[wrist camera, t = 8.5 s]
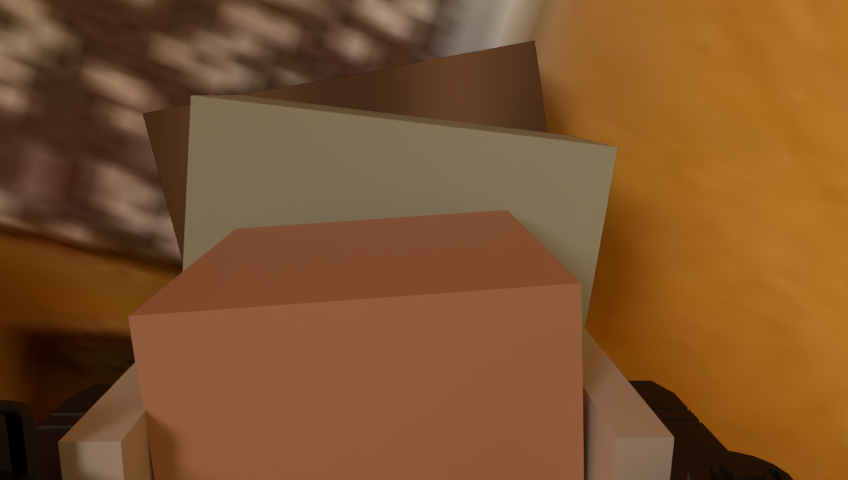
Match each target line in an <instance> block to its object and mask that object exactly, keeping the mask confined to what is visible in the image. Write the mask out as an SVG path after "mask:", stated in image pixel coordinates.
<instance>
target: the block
mask: <svg viewBox="0 0 848 480" xmlns="http://www.w3.org/2000/svg"><path fill="white" fill-rule="evenodd" d="M128 321H129V327H130V333H131V339H132V345H133V351H134V357H135V363H136V369H137V375H138V381H139V387H140V393H141V399H142V406H143V410H145V411H146V424H147V436H148V442H149V448H150V454H151V460H152V466H153V472H154V478H155V480H584V440H583V369H582V297H581V282H580V281H579V280H578V279H577V278H576V277H575V276H574V275H573V274H572V273H571V272H570V271H569V270H568V269H567V268H566V267H565V266H564V265H563V264H561V263H560V262H559V261H558V260H557V259H556V258H555V257H554V256H553V255H552V254H551V253H550V252H549V251H548V250H547V249H546V248H545V247H544V246H543V245H542V244H541V243H540V242H539V241H538V240H537V239H536V238H535V237H534V236H533V235H532V234H531V233H530V232H529V231H528V230H527V229H526V228H525V227H524V226H523V225H522V224H521V223H520V222H519V221H518V220H517V219H516V218H515V217H514V216H513V215H512V214H511V213H510V212H509V211H508V210H497V211H483V212H469V213H454V214H440V215H426V216H411V217H397V218H383V219H368V220H354V221H340V222H325V223H311V224H296V225H282V226H268V227H253V228H239V229H235V230H233V231H232V232H231V233H230V234H228V235H227V236H226V237H225V238H224V239H222V240H221V241H220V242H219V243H217V244H216V245H215V246H214V247H212V248H211V249H210V250H209V251H208V252H206V253H205V254H204V255H203V256H201V257H200V258H199V259H198V260H196V261H195V262H194V263H193V264H192V265H190V266H189V267H188V268H187V269H185V270H184V271H183V272H182V273H180V274H179V275H178V276H177V277H176V278H174V279H173V280H172V281H171V282H169V283H168V284H167V285H166V286H164V287H163V288H162V289H161V290H160V291H158V292H157V293H156V294H155V295H153V296H152V297H151V298H150V299H148V300H147V301H146V302H145V303H144V304H142V305H141V306H140V307H139V308H137V309H136V310H135V311H134V312H132V313H131V314H130V315H129V316H128Z"/></svg>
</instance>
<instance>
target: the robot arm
mask: <svg viewBox="0 0 848 480" xmlns="http://www.w3.org/2000/svg"><path fill="white" fill-rule="evenodd" d="M582 369H583V440H584V480H793V479H792V478H791V476H790V475H789V474H788V473H786V472H784V471H783V470H781V469H780V468H778V467H777V466H775V465H774V464H772V463H769V462H767V461H764V460H762V459H759V458H757V457H754V456H750V455H746V454H742V453H737V452H731V451H728V450H727V449H726V448H725V447H724V446H723V445H722V444H721V443H720V442H719V441H718V440H717V438H716V437H715V436H714V435H713V434H712V433H711V432H710V431H709V430H708V429H707V428H706V427H705V426H704V425H703V424H702V423H699V419H698V418H697V417H696V416H695V415H694V414H693V413H692V412H691V411H690V410H687V407H686V406H685V404H684V403H683V402H682V401H681V400H680V399H679V398H678V397H677V396H676V395H675V394H674V393H673V392H671V391H669V390H667V389H665V388H664V387H662V386H660V385H658V384H656V383H654V382H652V381H628V380H627V379H626V378H625V377H624V376H623V374H622V373H621V372H620V371H619V369H618V368H617V367H616V366H615V365H614V363H613V362H612V361H611V360H610V358H609V357H608V356H607V355H606V354H605V352H604V351H603V350H602V349H601V347H600V346H599V345H598V344H597V343H596V341H595V340H594V339H593V338H592V337H591V335H590V334H589V333H588V332H587V330H586V329H585V328H584V327H583V326H582ZM0 480H155V478H154V472H153V466H152V460H151V454H150V448H149V442H148V436H147V424H146V411H145V410H143V406H142V399H141V393H140V387H139V381H138V375H137V369H136V363H134V364H133V365H132V366H131V367H130V368H129V369H128V370H127V371H126V372H125V373H124V374H123V375H122V376H121V377H120V379H119V380H118V381H117V382H116V383H115V384H114V385H93V386H91V387H89V388H87V389H85V390H83V391H81V392H79V393H77V394H75V395H73V396H72V397H70V398H68V399H67V400H66V401H65V402H64V403H63V404H62V405H61V406H59V407H58V408H57V409H56V410H55V411H54V412H53V413H52V416H49V417H48V418H47V419H46V420H45V421H43V422H42V423H41V424H40V425H39V428H38V429H34V421H33V412H32V408H31V407H29V406H28V405H26V404H24V403H22V402H15V401H8V400H0Z"/></svg>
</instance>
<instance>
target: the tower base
mask: <svg viewBox="0 0 848 480" xmlns="http://www.w3.org/2000/svg"><path fill="white" fill-rule="evenodd" d="M243 96H251V97H260V98H268V99H276V100H284V101H292V102H301V103H309V104H317V105H325V106H333V107H341V108H350V109H358V110H366V111H374V112H382V113H391V114H399V115H407V116H415V117H423V118H432V119H440V120H448V121H456V122H464V123H473V124H481V125H489V126H497V127H505V128H514V129H522V130H530V131H538V132H546V133H547V126H546V119H545V112H544V104H543V97H542V90H541V83H540V76H539V68H538V61H537V54H536V47H535V41H530V42H525V43H519V44H514V45H508V46H503V47H498V48H492V49H487V50H481V51H476V52H471V53H465V54H460V55H455V56H449V57H444V58H438V59H433V60H428V61H422V62H417V63H412V64H406V65H401V66H395V67H390V68H385V69H379V70H374V71H368V72H363V73H358V74H352V75H347V76H342V77H336V78H331V79H325V80H320V81H315V82H309V83H304V84H298V85H293V86H288V87H282V88H277V89H272V90H266V91H261V92H255V93H250V94H245V95H243ZM143 116H144V120H145V124H146V127H147V131H148V135H149V139H150V142H151V146H152V150H153V153H154V157H155V161H156V164H157V168H158V172H159V175H160V179H161V183H162V187H163V190H164V194H165V198H166V201H167V205H168V209H169V212H170V216H171V220H172V223H173V227H174V231H175V235H176V238H177V242H178V246H179V249H180V253H181V257H182V260H183V254H184V232H185V211H186V190H187V169H188V148H189V127H190V105H185V106H180V107H175V108H169V109H164V110H159V111H153V112H148V113H143Z"/></svg>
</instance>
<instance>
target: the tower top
mask: <svg viewBox="0 0 848 480" xmlns="http://www.w3.org/2000/svg"><path fill="white" fill-rule="evenodd" d="M617 148H618V147H615V146H611V145H606V144H602V143H598V142H594V141H589V140H585V139H581V138H576V137H572V136H568V135H563V134H554V133H546V132H538V131H530V130H522V129H514V128H505V127H497V126H489V125H481V124H473V123H464V122H456V121H448V120H440V119H432V118H423V117H415V116H407V115H399V114H391V113H382V112H374V111H366V110H358V109H350V108H341V107H333V106H325V105H317V104H309V103H301V102H292V101H284V100H276V99H268V98H260V97H251V96H243V95H191V105H190V127H189V148H188V169H187V190H186V211H185V232H184V254H183V271H184V270H185V269H187V268H188V267H189V266H190V265H192V264H193V263H194V262H195V261H196V260H198V259H199V258H200V257H201V256H203V255H204V254H205V253H206V252H208V251H209V250H210V249H211V248H212V247H214V246H215V245H216V244H217V243H219V242H220V241H221V240H222V239H224V238H225V237H226V236H227V235H228V234H230V233H231V232H232V231H233V230H235V229H239V228H253V227H268V226H282V225H296V224H311V223H325V222H340V221H354V220H368V219H383V218H397V217H411V216H426V215H440V214H454V213H469V212H483V211H497V210H508V211H509V212H510V213H511V214H512V215H513V216H514V217H515V218H516V219H517V220H518V221H519V222H520V223H521V224H522V225H523V226H524V227H525V228H526V229H527V230H528V231H529V232H530V233H531V234H532V235H533V236H534V237H535V238H536V239H537V240H538V241H539V242H540V243H541V244H542V245H543V246H544V247H545V248H546V249H547V250H548V251H549V252H550V253H551V254H552V255H553V256H554V257H555V258H556V259H557V260H558V261H559V262H560V263H561V264H563V265H564V266H565V267H566V268H567V269H568V270H569V271H570V272H571V273H572V274H573V275H574V276H575V277H576V278H577V279H578V280H579V281H580V282H581V297H582V326H583V327H584V328H585V325H586V320H587V314H588V309H589V303H590V298H591V292H592V287H593V281H594V276H595V270H596V264H597V259H598V253H599V248H600V242H601V237H602V231H603V226H604V220H605V215H606V209H607V204H608V198H609V193H610V187H611V182H612V176H613V171H614V165H615V159H616V154H617Z"/></svg>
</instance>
